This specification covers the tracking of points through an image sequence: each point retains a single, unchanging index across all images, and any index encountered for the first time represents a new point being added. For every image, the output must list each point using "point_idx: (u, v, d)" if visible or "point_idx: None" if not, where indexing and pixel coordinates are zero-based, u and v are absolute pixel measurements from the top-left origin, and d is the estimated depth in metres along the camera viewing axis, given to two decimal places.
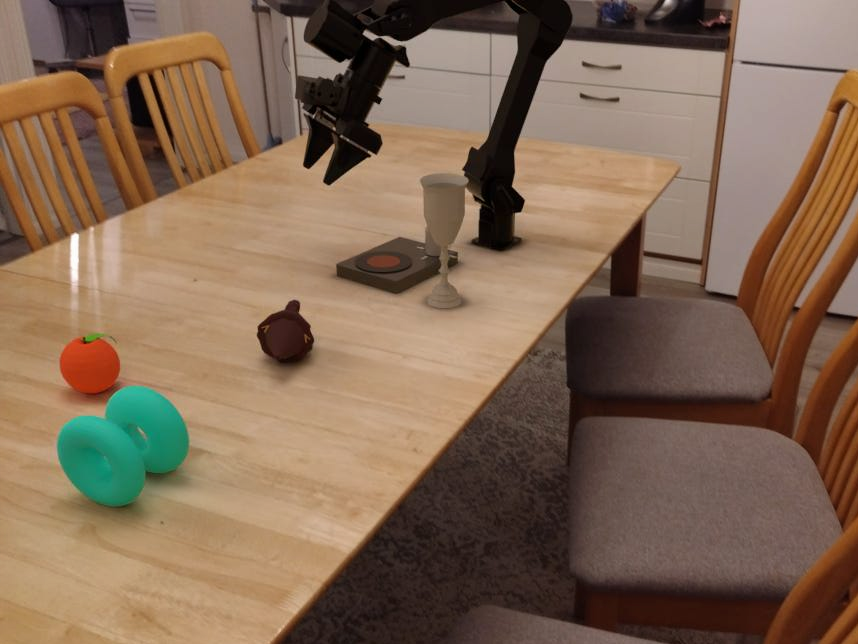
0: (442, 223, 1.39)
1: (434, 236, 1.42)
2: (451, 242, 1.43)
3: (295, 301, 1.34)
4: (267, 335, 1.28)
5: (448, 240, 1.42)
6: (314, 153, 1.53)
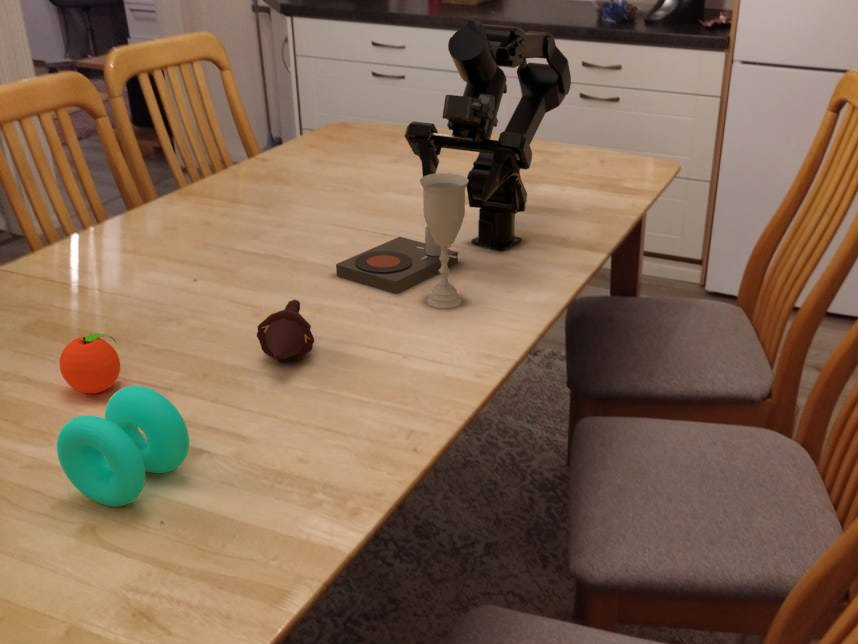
0: (442, 223, 1.39)
1: (434, 236, 1.42)
2: (451, 242, 1.43)
3: (295, 301, 1.34)
4: (267, 335, 1.28)
5: (448, 240, 1.42)
6: None
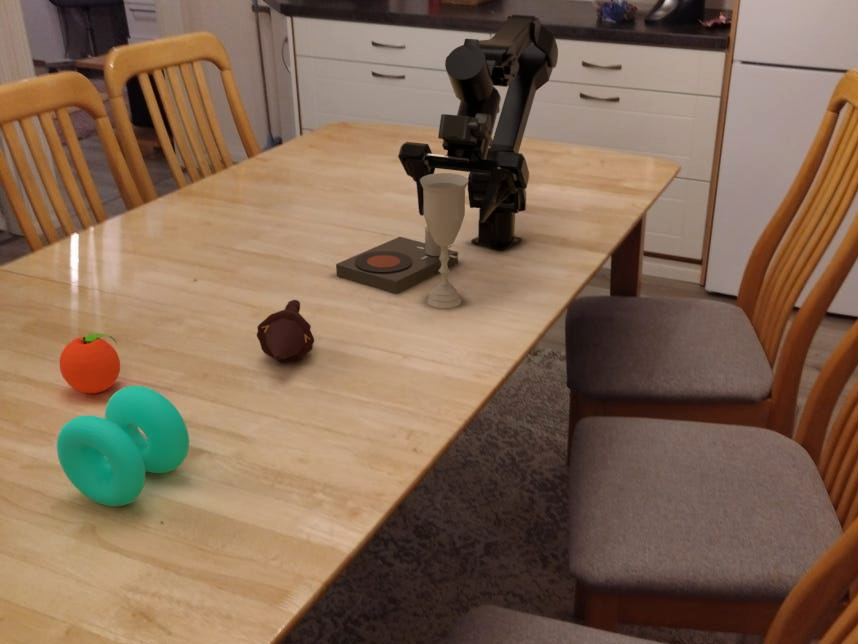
0: (442, 223, 1.39)
1: (434, 236, 1.42)
2: (451, 242, 1.43)
3: (295, 301, 1.34)
4: (267, 335, 1.28)
5: (448, 240, 1.42)
6: None
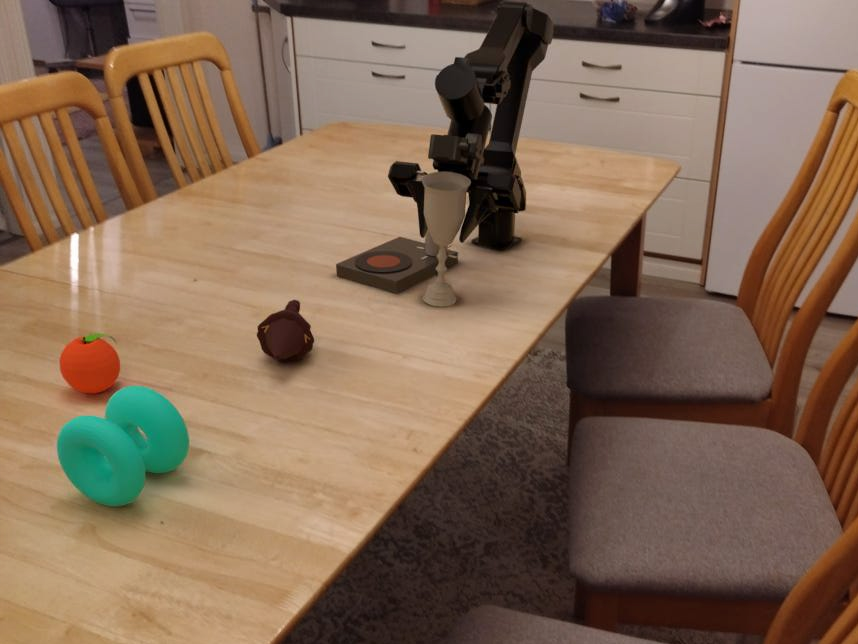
0: (441, 224, 1.39)
1: (433, 235, 1.42)
2: (449, 242, 1.43)
3: (295, 301, 1.34)
4: (267, 335, 1.28)
5: (446, 240, 1.42)
6: None
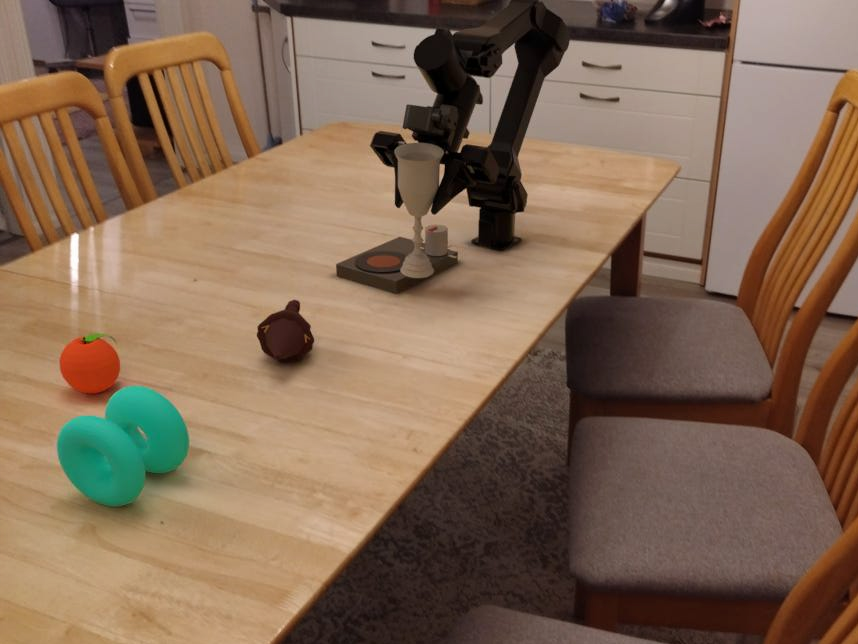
0: (412, 194, 1.40)
1: (406, 206, 1.43)
2: (423, 214, 1.43)
3: (295, 301, 1.34)
4: (267, 335, 1.28)
5: (419, 211, 1.43)
6: None
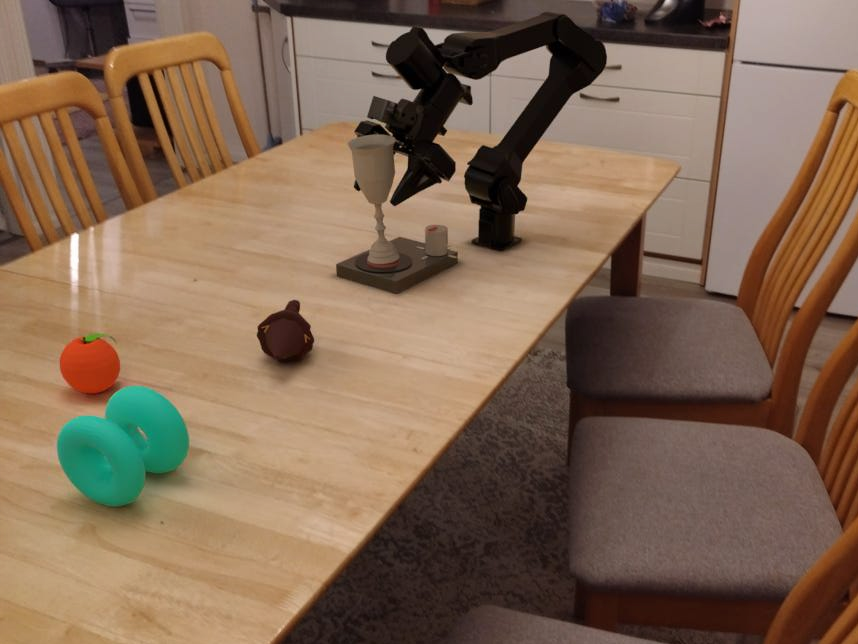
0: (361, 181, 1.48)
1: (363, 193, 1.51)
2: (378, 201, 1.50)
3: (295, 301, 1.34)
4: (267, 335, 1.28)
5: (373, 199, 1.50)
6: None
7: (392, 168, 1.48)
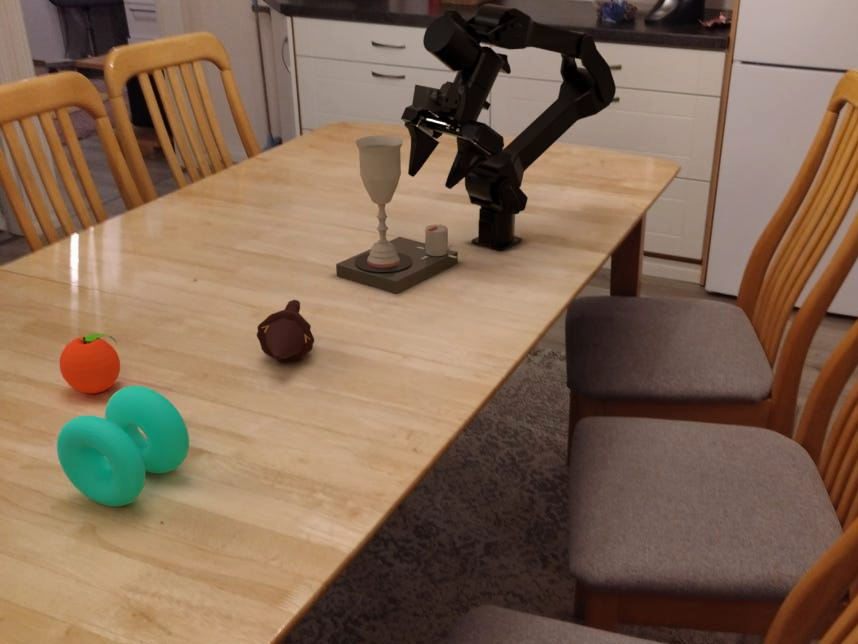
0: (367, 180, 1.48)
1: None
2: (382, 201, 1.51)
3: (295, 301, 1.34)
4: (267, 335, 1.28)
5: (378, 198, 1.50)
6: (418, 161, 1.58)
7: (398, 169, 1.49)
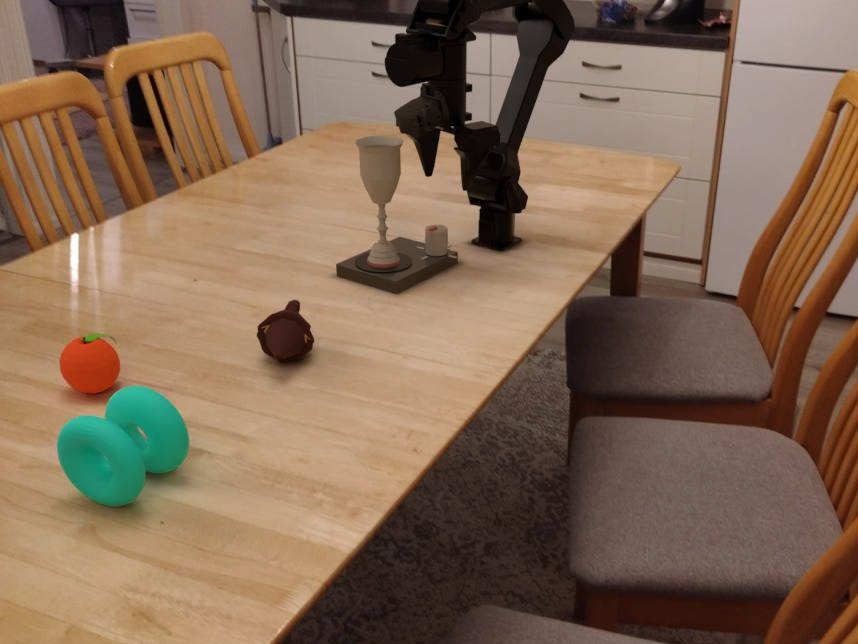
0: (367, 180, 1.48)
1: None
2: (382, 201, 1.51)
3: (295, 301, 1.34)
4: (267, 335, 1.28)
5: (378, 198, 1.50)
6: (429, 159, 1.57)
7: (398, 169, 1.49)
